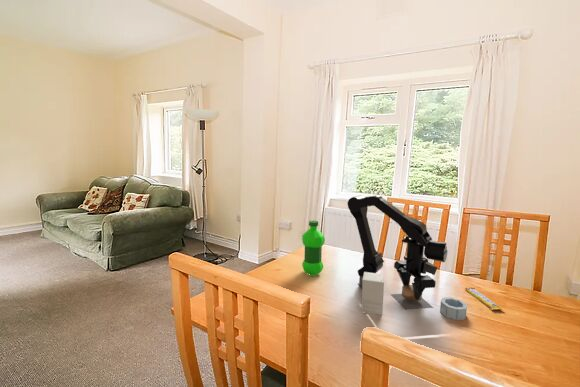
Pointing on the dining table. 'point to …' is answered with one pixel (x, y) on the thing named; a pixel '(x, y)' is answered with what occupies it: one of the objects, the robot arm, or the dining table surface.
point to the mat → (411, 302)
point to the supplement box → (372, 293)
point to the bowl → (453, 308)
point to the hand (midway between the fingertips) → (411, 294)
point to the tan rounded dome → (409, 293)
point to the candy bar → (482, 299)
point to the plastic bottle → (313, 249)
